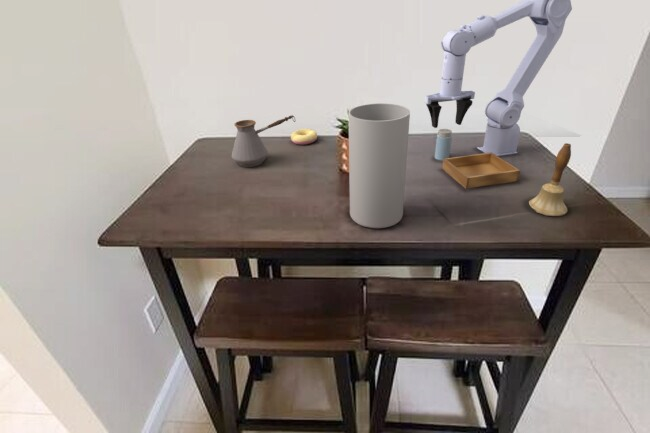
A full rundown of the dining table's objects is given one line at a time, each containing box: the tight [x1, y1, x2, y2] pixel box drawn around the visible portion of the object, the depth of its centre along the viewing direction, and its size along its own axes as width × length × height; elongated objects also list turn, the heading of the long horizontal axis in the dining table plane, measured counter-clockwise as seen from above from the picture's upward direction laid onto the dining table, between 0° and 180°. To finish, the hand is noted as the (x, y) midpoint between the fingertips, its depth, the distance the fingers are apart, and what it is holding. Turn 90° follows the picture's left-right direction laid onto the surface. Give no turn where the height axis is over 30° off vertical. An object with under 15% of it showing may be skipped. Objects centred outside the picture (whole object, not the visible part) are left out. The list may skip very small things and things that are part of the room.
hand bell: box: [528, 143, 572, 217], centre depth 87 cm, size 8×8×16 cm
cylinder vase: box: [347, 102, 411, 229], centre depth 85 cm, size 12×12×25 cm
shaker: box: [434, 128, 453, 161], centre depth 115 cm, size 4×4×9 cm
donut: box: [290, 128, 318, 146], centre depth 136 cm, size 10×5×9 cm
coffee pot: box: [231, 114, 296, 168], centre depth 118 cm, size 21×12×15 cm, turn 84°
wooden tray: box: [442, 152, 521, 189], centre depth 106 cm, size 15×13×4 cm
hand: (446, 125), depth 114 cm, fingers open, 7 cm apart
